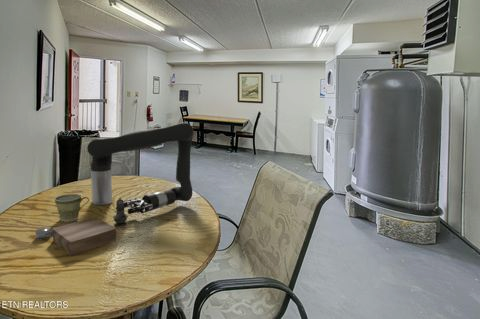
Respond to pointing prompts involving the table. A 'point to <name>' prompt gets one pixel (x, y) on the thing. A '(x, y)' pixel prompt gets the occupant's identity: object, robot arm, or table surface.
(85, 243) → the walnut stand
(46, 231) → the grey metal puck
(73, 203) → the ceramic cup
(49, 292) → the table surface
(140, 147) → the robot arm
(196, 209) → the table surface
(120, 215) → the salt shaker
